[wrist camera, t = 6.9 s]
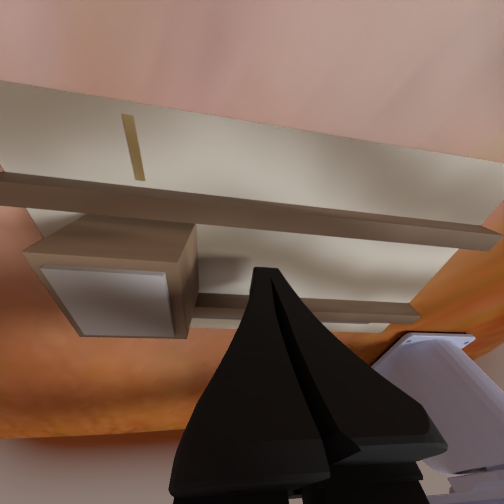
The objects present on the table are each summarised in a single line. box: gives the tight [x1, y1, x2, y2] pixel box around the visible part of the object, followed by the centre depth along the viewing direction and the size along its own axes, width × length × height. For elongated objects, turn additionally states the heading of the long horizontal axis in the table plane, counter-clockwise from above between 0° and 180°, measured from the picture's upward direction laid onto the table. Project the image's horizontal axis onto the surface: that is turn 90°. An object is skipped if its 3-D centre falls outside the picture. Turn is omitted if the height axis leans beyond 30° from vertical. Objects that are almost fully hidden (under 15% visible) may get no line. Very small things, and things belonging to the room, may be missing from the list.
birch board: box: [0, 80, 504, 333], centre depth 11 cm, size 14×24×2 cm, turn 83°
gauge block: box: [21, 214, 199, 339], centre depth 9 cm, size 5×5×4 cm
